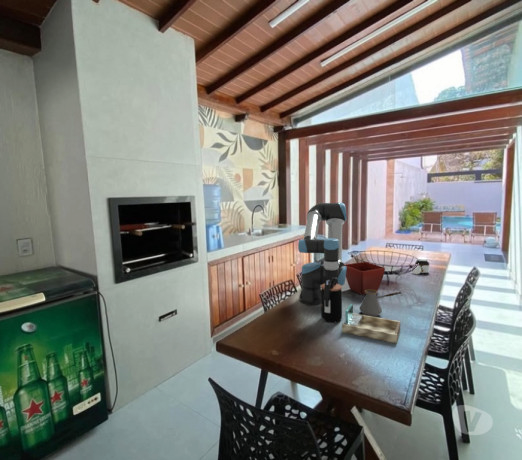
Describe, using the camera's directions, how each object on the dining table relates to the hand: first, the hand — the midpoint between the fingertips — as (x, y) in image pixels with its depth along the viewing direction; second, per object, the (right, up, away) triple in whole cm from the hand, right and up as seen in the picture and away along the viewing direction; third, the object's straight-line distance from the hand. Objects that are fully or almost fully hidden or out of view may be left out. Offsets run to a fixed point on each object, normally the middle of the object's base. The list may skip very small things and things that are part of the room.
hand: (331, 307), depth 158 cm
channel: (+16, -7, -14) cm, 22 cm away
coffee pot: (+27, -5, +3) cm, 27 cm away
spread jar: (+88, +7, +77) cm, 117 cm away
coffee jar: (0, -6, +1) cm, 6 cm away
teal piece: (+9, -6, -10) cm, 14 cm away
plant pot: (+31, 0, +42) cm, 53 cm away
